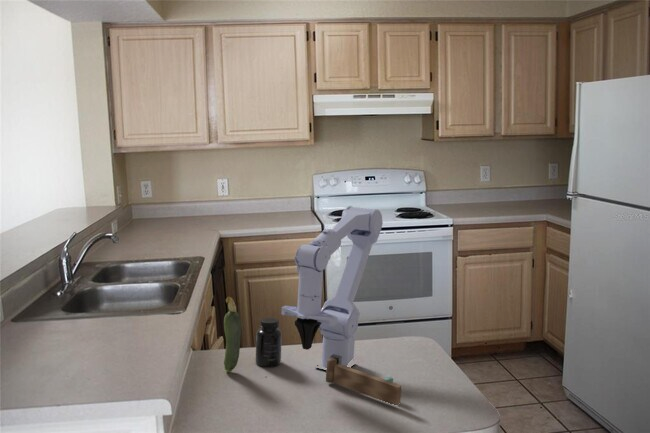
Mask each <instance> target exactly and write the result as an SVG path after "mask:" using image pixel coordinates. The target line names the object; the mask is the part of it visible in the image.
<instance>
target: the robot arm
mask: <svg viewBox="0 0 650 433" xmlns="http://www.w3.org/2000/svg"><path fill="white" fill-rule="evenodd" d="M382 227H383V215H382V212H381V211H380V210H379V209H369V208H363V207H362V208H361V207H354V206H352V205H348V206H346V208H344V210H342V214H341V218H340V220H339V221H338V222H337V223H336V224H335V225H334V226H333V228H332V229H330V228H327V229H326V228H325V229H323V230H322V232H321V233H319V235H317V236H316V237H315V238H314V239H313V240H312V241H311V242H309V244H307V243H304V244H302V245H300V246H299V247H298V248H297V250H296V253H295V255H294V263H295V266H296V273H297V275H298V286H297V287H298V288H297V304H296V305H297V306H291V305H284V306H281V311H280V312H281V314H280V315H281V316H290V317H295V318H297V319H296V320H295V321H294V325H295V327H296V329H297V331H298V332H297V333H298V334H299V337H300V340H301V346H302V350H310V349H311V348H312V345H313V342H314V339H315V336H316V334H317V332H318V330H319V331H320V335H322V345H321V346H322V347H321V362H320V363H321V364H322V366H323V367H325V368H327V359H328V358H330V356H331V355H333V354H335V355H339V356H342V362H341V365H344V366H347V365H348V363H349V362H350V361H351V360H352V359H353V358H354V357H355V356H354V354H355V337H354V336H355V334H356V332H357V330H358V327H359V317H360V311H359V308H357V306H356V305H355V304H354V301H355V299H356V295H357V291H358V289H359V286H360V283H361V280H362V277H363V274H364V272H365V268H366V265H367V262H368V258H369V256H370V253H371V250H372V248H373V245H374V244H376V243H377V241H378V239H379V236H380V234H381V231H382ZM345 237H347V239H349V240H350V241H352V245H351V248H350V252H349V255H348V257H347V261H346V264H345V266H344V270H343V272H342V274H341V275H342V276H341V278H340V281H339V284H338V287H337V290H336V293H335V295H334V297H332V298H329V299H328V300H326V301H325V302H324V304H323V306H322V297H323V296H322V292H323V280H324V279H323V278H324V277H323V275H324V270H325V269H326V268H327V266H328V264H329V260H331V258H332V257H331V256H332V255H334V253H335V252H336V251H337V250H338V249H339V248H340V247H342V246H341V245H342V240H343V239H344V238H345ZM353 360H354V359H353Z"/></svg>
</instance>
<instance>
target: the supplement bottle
mask: <svg viewBox="0 0 650 433" xmlns="http://www.w3.org/2000/svg"><path fill="white" fill-rule="evenodd" d="M259 327H260V328H258V329H257V331H256V334H255V335H256V336H255V338H256V340H255V359H254V360H255V363H256V365H257V366H259V367H261V368H265V369H266V368H270V369H271V368H275V367H278V366H279V365H280V364H281V362H282V341H283V333H282V331H281V329H280V328H279V327H280V325H279V319H278V318H276V317H264V318H261V320H260V324H259Z"/></svg>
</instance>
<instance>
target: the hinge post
mask: <svg viewBox="0 0 650 433" xmlns="http://www.w3.org/2000/svg"><path fill="white" fill-rule="evenodd" d="M330 358H335V359H337V364H341V362H342V356H339V355H335V354H333V355H331V356H330ZM337 364H336V365H337Z"/></svg>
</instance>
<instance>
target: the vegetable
mask: <svg viewBox="0 0 650 433" xmlns="http://www.w3.org/2000/svg"><path fill="white" fill-rule="evenodd" d="M225 302H226V304H227V303H228V304H227V307H228V312H227V313H225V315H224V317H223V329H224V330H223V331H224V335H225V340H226V344H225V351H224V360H223V365H224V366H223V367H224V370H225V371H226V373H231V372H232V371H233V370H234V369H235V368H236V367H237V365H238V361H239V358H240V350H241V336H242V335H241V334H242V319H241V316H240V314H239V313H238V311H237V306H236V304H235V300H234V298H232V297H231V296H227V298H225Z"/></svg>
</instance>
